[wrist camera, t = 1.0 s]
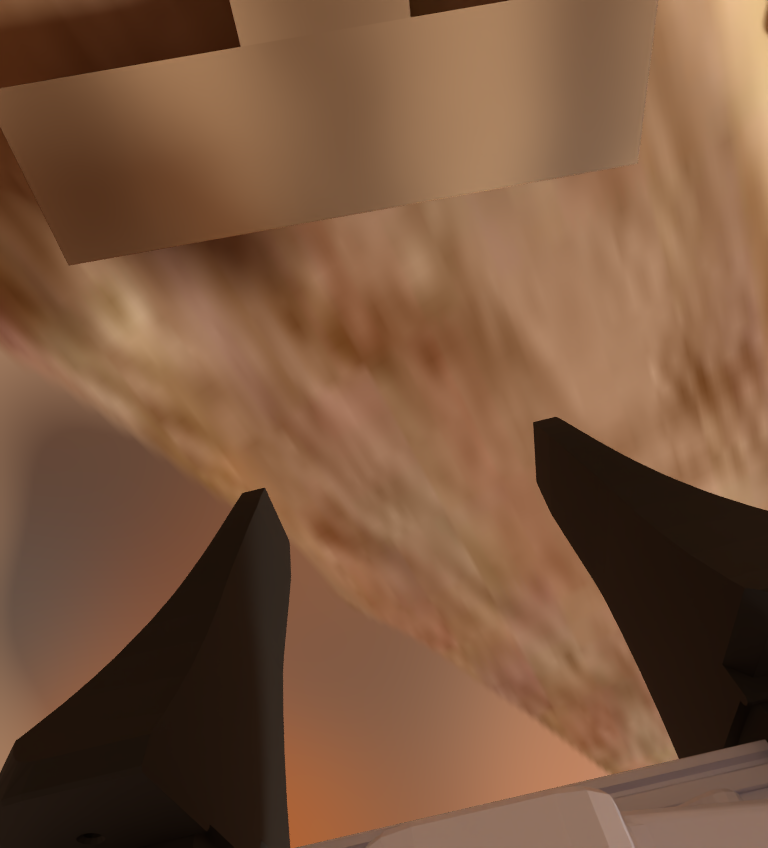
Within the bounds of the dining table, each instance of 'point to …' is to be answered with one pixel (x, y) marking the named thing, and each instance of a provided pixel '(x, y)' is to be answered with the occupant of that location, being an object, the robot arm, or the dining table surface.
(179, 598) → the robot arm
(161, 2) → the dining table surface
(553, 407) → the dining table surface
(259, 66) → the t block
